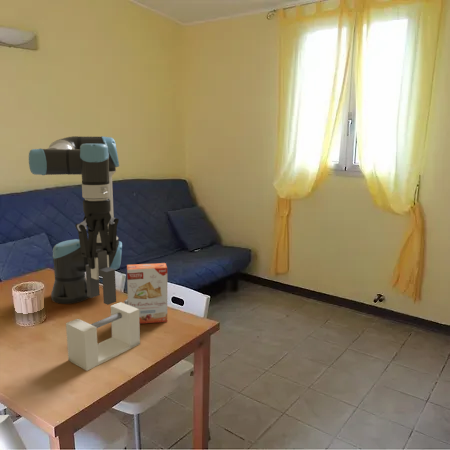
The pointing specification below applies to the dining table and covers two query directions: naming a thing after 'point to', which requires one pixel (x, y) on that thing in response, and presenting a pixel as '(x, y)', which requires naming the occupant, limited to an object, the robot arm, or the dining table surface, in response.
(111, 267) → the robot arm
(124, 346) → the cream rod holder
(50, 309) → the dining table surface
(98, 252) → the grey zigzag block
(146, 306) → the cracker box
